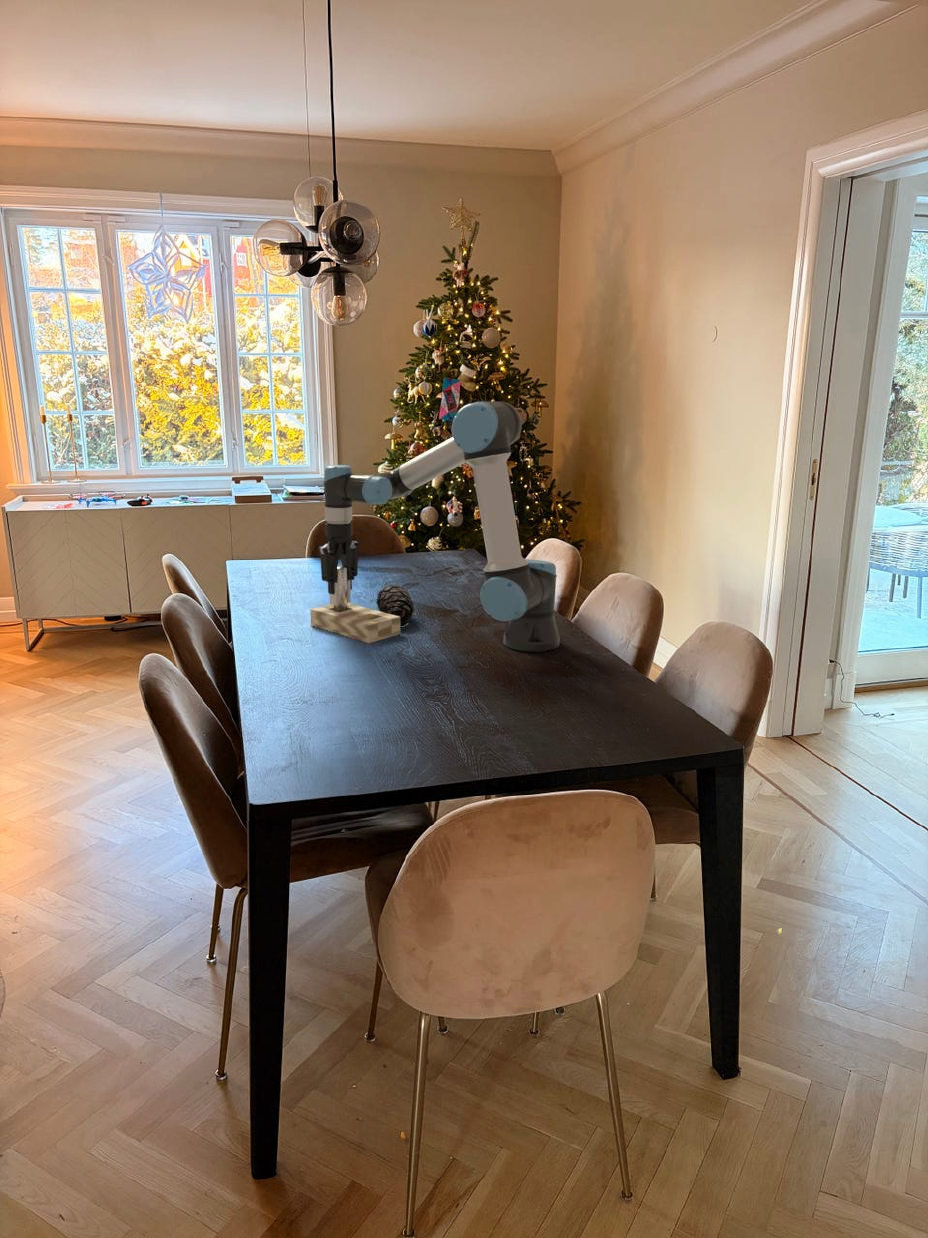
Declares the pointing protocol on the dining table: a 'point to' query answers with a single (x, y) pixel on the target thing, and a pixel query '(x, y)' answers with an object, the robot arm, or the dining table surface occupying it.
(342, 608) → the steel pin
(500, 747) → the dining table surface
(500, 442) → the robot arm
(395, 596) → the pine cone
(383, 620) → the hole block
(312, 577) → the dining table surface
